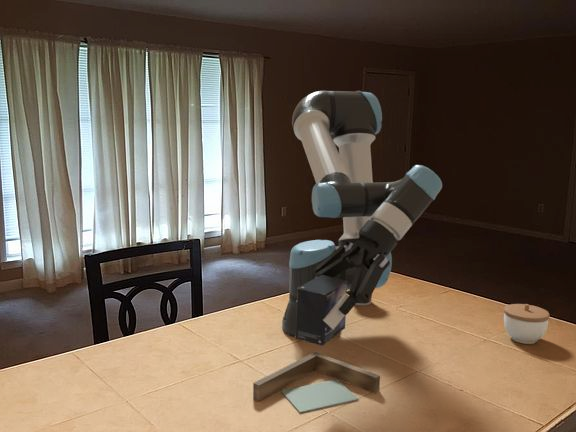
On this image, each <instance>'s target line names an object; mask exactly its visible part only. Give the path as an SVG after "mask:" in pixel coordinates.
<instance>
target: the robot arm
mask: <svg viewBox="0 0 576 432" xmlns="http://www.w3.org/2000/svg"><path fill="white" fill-rule="evenodd" d="M382 122H383V112H382V107H381V104H380V102H379V99H378V98H377V96H376V95H375V94H373V93H372V92H367V91H361V90H356V91H351V90H349V91H346V90H344V91H343V90H341V91H340V90H336V91H335V90H318V91H314V92H312V93H309V94H307V95H306V96H305V97H303V98H302V99H301V100H300V101H299V102H298V103H297V105H296V106H295V109H294V111H293V114H292V117H291V125H292V129H293V132H294V135H295V137H296V138H297V139H298V140H300V141H301V143H302V146H303V149H304V152H305V155H306V158H307V161H308V163H309V166H310V169H311V172H312V176H313V177H314V181H315V184H314V186H313V187H312V190H311V204H312V211H313V213H314V215H315V216H317V217H319V218H331V219H336V218H342V221H343V222H342V223H343V234H342V235H341V236H340V238H339V239H338V245H337V246H336V245H335V242H333V241H332V240H328V239H315V240H314V239H313V240H307V241H303V242H299V243H298V244H296V245H294V246H293V247H292V248H291V251H290V255H289V262H288V267H289V288H288V289H289V297H288V299H289V300H288V302H287V306H286V308H285V310H284V311H285V312H284V315H283V316H282V321H281V322H282V325H281V327H282V330H283V332H284V333H286V334H288V335H290V336H292V337H295V334H296V315H297V288H298V287H300V286H302V285H304V284H306V283H308V282H309V281H311V280H313V279H315V278H317V277H318V276H320V275H325V276H329V277H334V278H338V279H343V280H347V291H346V293H347V294H344V295H343V296H342V297H341V299H340V300H339V301H338V302H337V303H336V305H335V306H334V307H333V308H332V309H331V311H330V312H329V313H328V314H327V316H326V317H325V318H324V319H323V321H324V322H325V323H326V324H327V325H328V326H330V327H331V328H332V329H334V328H335V327H336V326H337V325H338V323H339V322H340V321H341V320H342V318H343V317H344V316H345V315H346V316H347V315H348V314H349V313H350V311H351V310H352V309H353V308H354V307H355V306H356V305H355V304H356V303H359V302H363V303H364V304H366V303H367V302H368V301H369V299H370V297H371V295H372V296H373V293H374V291H375V289H378V288H382V287H384V286H385V285H386V284H387V282H388V280H389V278H390V275H391V271H392V263H393V262H392V261H393V257H392V253H391V252H392V251H393V250H394V248H395V247H397V245H398V241H401V240H402V239H403V237H404V236H405V234H406V233H408V231H409V230H410V228H411V227H412V226H413V225H414V224H415V222H416V221H417V220H418V219H419V218H420V217H421V216H422V214H423V213H424V212H425V211H426V209H428V207H429V206H430V204H431V203H432V202H433V201H435V199H436V198H437V195H439V193H440V192H441V190H442V188H443V182H442V180H441V178H440V177H439V175H437V174H436V172H434V171H433V170H432V169H430V168H429V167H427V166H424V165H421V164H415V165H413V166H412V168H411V169H410V170H409V171H407V172H406V173H405V175H404V177H402V178H401V179H399V180H396V181H387V182H374V181H373V169H372V167H373V166H372V153H371V145H372V143H373V142H374V141H375V140H376V135H377V134H379V133H380V131H381V129H382V124H383V123H382ZM337 148H338V149H337ZM363 293H365V295H364V294H363Z"/></svg>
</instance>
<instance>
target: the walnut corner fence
mask: <svg viewBox="0 0 576 432" xmlns="http://www.w3.org/2000/svg"><path fill="white" fill-rule="evenodd" d="M314 372H318V373H322V374H325V375H327V376H328V377H332V378H334V379H337V380H338V381H342V382H344V383H347V384H349V385H352V386H354V387H358V388H359V389H362V390H365V391H367V392H369V393H372V394H378V393H379V392H380V389H381V387H380V385H381V383H380V382H381V375H380V374H377V373H375V372H372V371H369V370H366V369H363V368H361V367H359V366H355V365H353V364H349V363H347V362H345V361H342V360H339V359H336V358H333V357H331V356H328V355H326V354H322V353H319V352H317V351H315V352H312V353H310V354H308V355H306V356H304V357H302V358H300V359H298V360H296V361H295V362H292V363H290V364H288V365H287V366H284V367H283V368H281V369H278V370H276V371H274V372H272V373H271V374H269V375H266V376H264V377H262V378H260V379H258V380H256V381H255V382H253V385H252V387H253V389H252V391H253V393H252V394H253V395H252V396H253V400H254V401H256V402H261V401H263V400H264V399H266V398H269V397H270V396H272V395H274V394H276V393H278V392H279V391H281V390H284V389H286V387H288V386H290V385H292V384H294V383H296V382H298V381H299V380H302V379H303V378H305V377H307V376H308V375H310V374H313V373H314Z"/></svg>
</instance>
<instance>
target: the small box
mask: <svg viewBox="0 0 576 432" xmlns="http://www.w3.org/2000/svg"><path fill="white" fill-rule="evenodd" d="M346 291H348V290H347V280H343V279H338V278H334V277H329V276H325V275H320V276H318V277H317V278H315V279H313V280H311V281H309V282H308V283H306V284H304V285H302V286H300V287H298V288H297V315H296V334H295V336H294V338H295V340H299V341H303V342H307V343H311V344H315V345H319V346H324V345H326V343H328V342H330V340H331V339H333V338H335V337H336V336H338V334H340V332H343V330H345V328H346V316H347V315H345V316H344V317H343V318H342V320H341V321H340V322H339V323H338V325H337V326H336V327H335V328H334V329H332V328H331V327H330V326H328V325H327V324H326V323H325V322H324V321H323V319H324V318H325V317H326V316H327V314H328V313H329V312H330V311H331V309H332V308H333V307H334V306H335V305H336V303H337V302H338V301H339V300H340V299H341V297H342V296H343V295H344V294H347V293H346ZM347 295H348V294H347Z"/></svg>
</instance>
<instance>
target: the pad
mask: <svg viewBox="0 0 576 432" xmlns="http://www.w3.org/2000/svg"><path fill="white" fill-rule="evenodd" d="M280 391H281V393H282V394H283V396H284V397H285V398H286V399H287V400H288V401H289V403H290V404H291V405H292V406H293V407H294V409H295V410H296V411H297V412H298V413H299V414H302V413H307V412H311V411H316V410H321V409H325V408H330V407H333V406H334V407H335V406H338V405H342V404H348V403H351V402H356V401H359V397H357V396H356V395H355V394H354V393H353V392H352V391H351V390H349V389H348V388H347V387H346V386H345V385H344V384H343V383H342V382H340V380H339V379H337V378H334V379H330V380H327V381H321V382H316V383H310V384H306V385H301V386H297V387H292V388H287V389H286V388H285V389H281V390H280Z"/></svg>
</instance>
